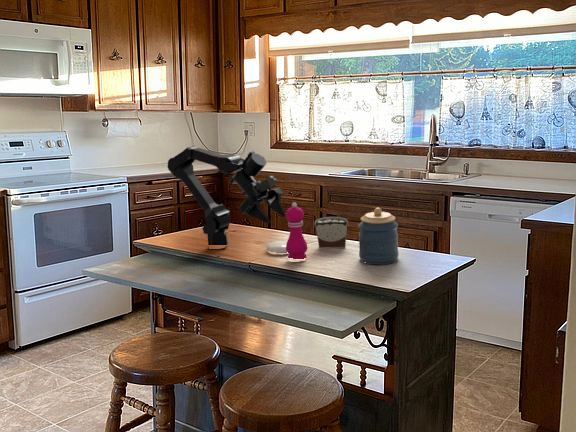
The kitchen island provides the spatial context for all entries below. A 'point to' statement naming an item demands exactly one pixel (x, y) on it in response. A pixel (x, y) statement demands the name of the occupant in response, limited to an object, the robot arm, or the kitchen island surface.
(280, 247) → the stand
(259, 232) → the kitchen island surface
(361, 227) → the canister
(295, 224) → the pepper mill
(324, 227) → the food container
